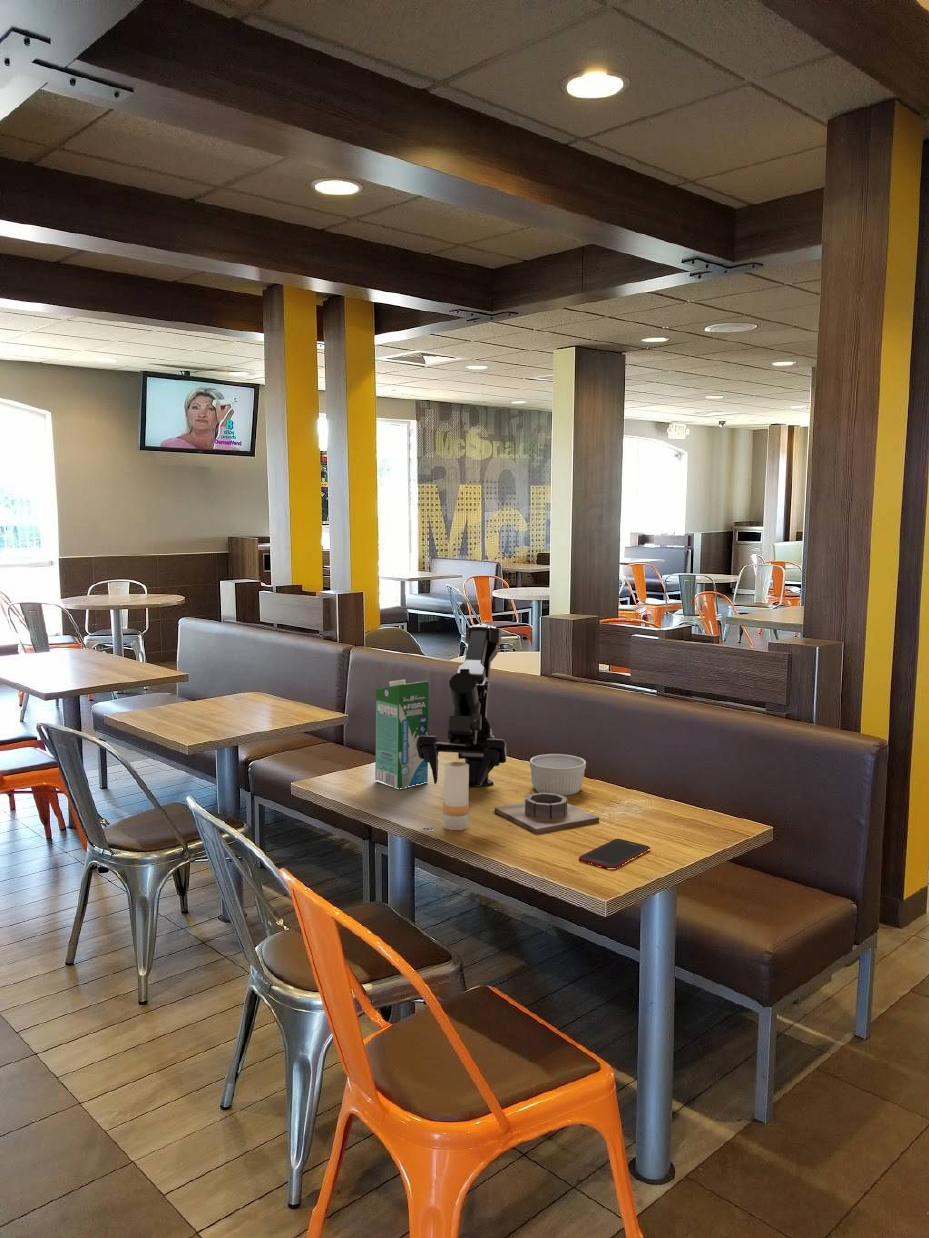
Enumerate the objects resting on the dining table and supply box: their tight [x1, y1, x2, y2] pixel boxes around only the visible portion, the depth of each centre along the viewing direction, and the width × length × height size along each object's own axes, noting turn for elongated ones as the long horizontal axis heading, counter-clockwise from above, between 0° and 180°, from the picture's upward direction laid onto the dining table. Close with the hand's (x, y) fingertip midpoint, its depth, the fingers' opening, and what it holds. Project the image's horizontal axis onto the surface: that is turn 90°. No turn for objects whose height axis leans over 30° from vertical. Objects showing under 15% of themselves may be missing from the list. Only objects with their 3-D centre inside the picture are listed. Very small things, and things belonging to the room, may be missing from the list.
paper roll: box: [443, 761, 470, 831], centre depth 193 cm, size 5×5×13 cm
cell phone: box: [578, 838, 651, 868], centre depth 178 cm, size 8×15×1 cm, turn 141°
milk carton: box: [374, 678, 430, 789], centre depth 224 cm, size 9×9×25 cm
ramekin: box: [529, 753, 587, 796], centre depth 221 cm, size 13×13×7 cm
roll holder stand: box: [494, 792, 600, 835], centre depth 200 cm, size 16×16×4 cm
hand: (457, 784), depth 193 cm, fingers open, 9 cm apart
